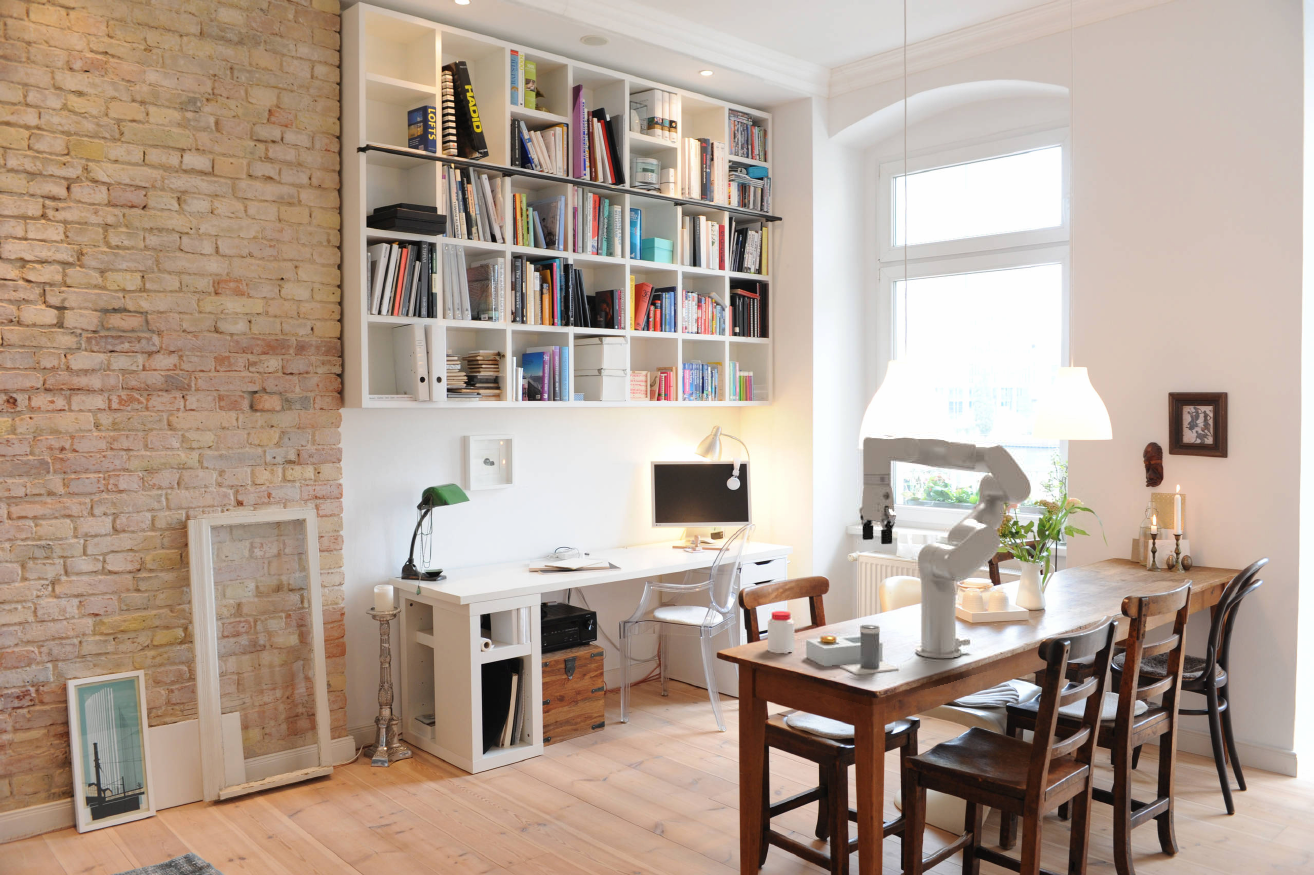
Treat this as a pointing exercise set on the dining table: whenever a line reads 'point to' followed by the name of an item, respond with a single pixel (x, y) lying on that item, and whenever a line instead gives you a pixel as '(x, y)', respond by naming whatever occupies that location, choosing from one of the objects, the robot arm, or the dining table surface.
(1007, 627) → the dining table surface
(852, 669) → the mat
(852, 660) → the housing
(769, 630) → the pill bottle
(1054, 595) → the dining table surface
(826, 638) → the plunger
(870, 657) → the cylinder
